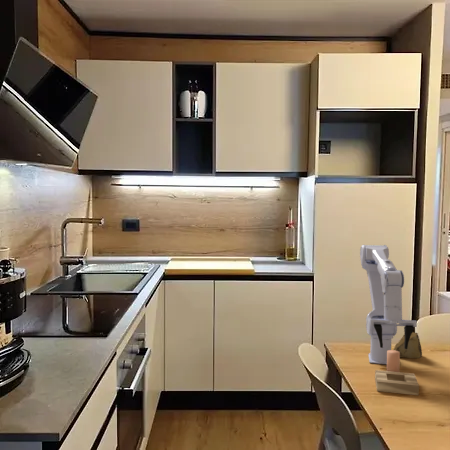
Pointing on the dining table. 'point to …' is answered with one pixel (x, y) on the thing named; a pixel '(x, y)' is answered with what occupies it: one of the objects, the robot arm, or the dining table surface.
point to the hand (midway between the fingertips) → (393, 348)
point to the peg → (393, 360)
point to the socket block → (396, 382)
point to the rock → (410, 347)
